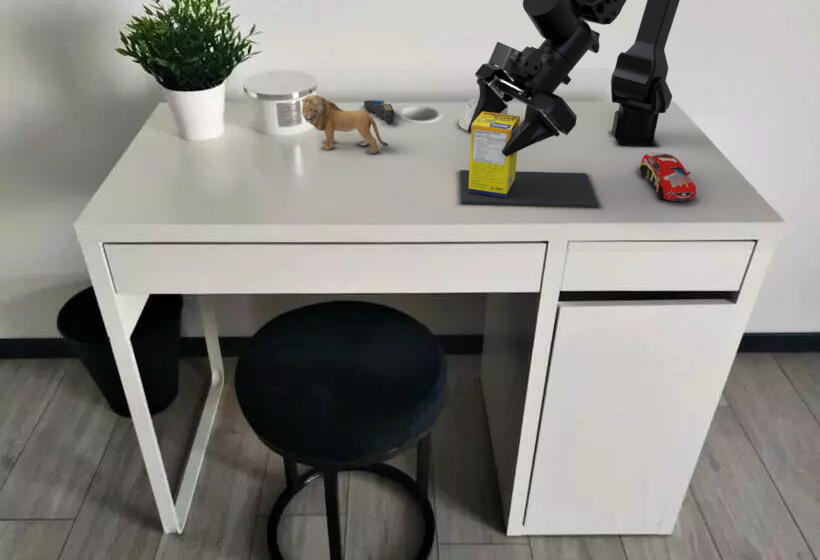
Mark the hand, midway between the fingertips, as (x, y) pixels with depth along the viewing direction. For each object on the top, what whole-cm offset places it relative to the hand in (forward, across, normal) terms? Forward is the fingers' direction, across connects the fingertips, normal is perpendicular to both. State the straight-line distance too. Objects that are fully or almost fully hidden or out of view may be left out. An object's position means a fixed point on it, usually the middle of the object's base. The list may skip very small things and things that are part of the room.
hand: (486, 143), depth 103 cm
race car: (-13, +11, +25) cm, 30 cm away
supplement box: (+4, 0, +7) cm, 8 cm away
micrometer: (+6, -37, +6) cm, 38 cm away
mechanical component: (-5, -24, +17) cm, 29 cm away
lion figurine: (+14, -26, -3) cm, 30 cm away
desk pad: (+1, +2, +10) cm, 11 cm away
